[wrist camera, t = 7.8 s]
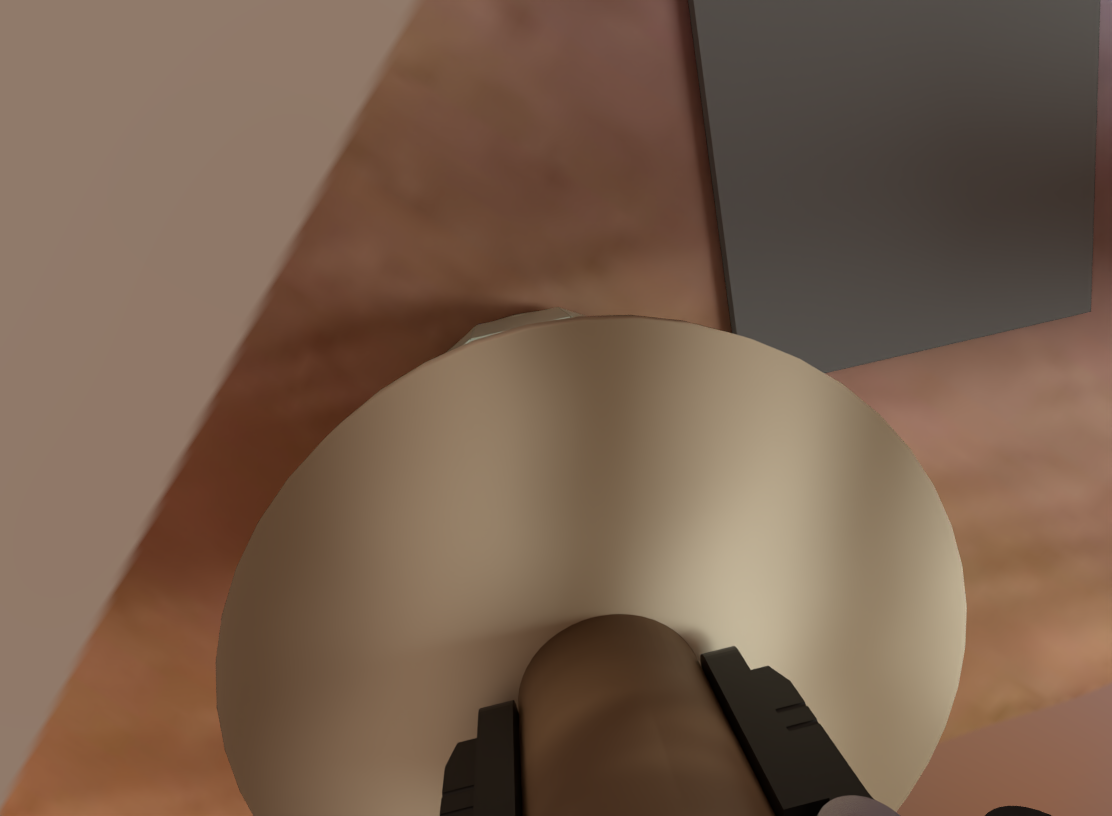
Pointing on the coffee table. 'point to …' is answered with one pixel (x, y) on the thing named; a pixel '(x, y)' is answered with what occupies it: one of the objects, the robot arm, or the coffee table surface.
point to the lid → (589, 580)
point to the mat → (899, 168)
